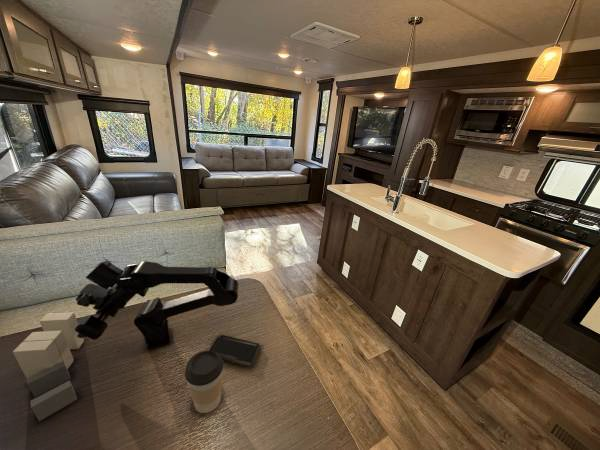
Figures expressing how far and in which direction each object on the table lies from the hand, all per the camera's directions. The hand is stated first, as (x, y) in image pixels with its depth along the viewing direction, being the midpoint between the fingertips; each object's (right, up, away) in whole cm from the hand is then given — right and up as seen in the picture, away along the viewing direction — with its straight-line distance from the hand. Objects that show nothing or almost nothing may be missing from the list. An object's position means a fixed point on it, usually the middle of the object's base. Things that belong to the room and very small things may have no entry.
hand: (88, 324), depth 76 cm
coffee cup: (+40, -17, -9) cm, 44 cm away
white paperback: (-8, -7, +2) cm, 11 cm away
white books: (-5, -11, -6) cm, 13 cm away
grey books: (+1, -14, -11) cm, 18 cm away
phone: (+44, -11, +5) cm, 45 cm away
